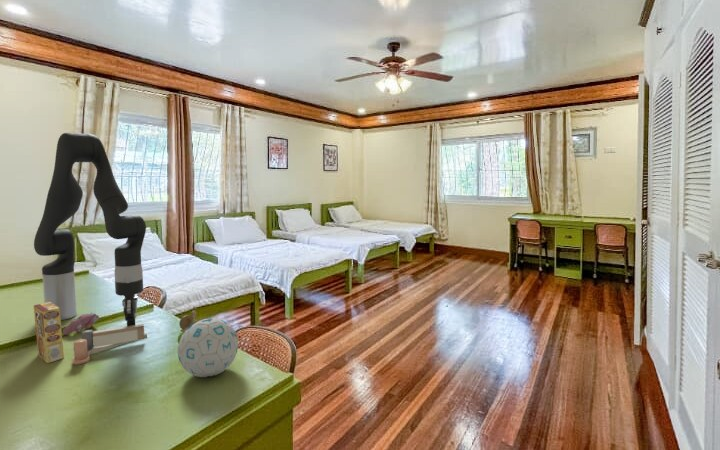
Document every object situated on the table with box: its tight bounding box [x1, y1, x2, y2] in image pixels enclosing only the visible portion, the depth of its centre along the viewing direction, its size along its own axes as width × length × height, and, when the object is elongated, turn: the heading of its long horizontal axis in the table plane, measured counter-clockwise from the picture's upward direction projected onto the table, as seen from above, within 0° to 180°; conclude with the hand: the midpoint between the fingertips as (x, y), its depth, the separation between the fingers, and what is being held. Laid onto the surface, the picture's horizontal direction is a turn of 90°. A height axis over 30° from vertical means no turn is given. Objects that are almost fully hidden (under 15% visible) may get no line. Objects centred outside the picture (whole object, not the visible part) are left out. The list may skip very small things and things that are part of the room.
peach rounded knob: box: [72, 338, 91, 366], centre depth 105 cm, size 4×4×6 cm
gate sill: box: [87, 332, 148, 356], centre depth 117 cm, size 4×18×1 cm, turn 146°
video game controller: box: [62, 312, 100, 336], centre depth 127 cm, size 10×5×7 cm, turn 169°
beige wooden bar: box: [81, 323, 145, 350], centre depth 114 cm, size 16×3×5 cm, turn 121°
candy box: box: [33, 302, 65, 364], centre depth 107 cm, size 9×4×15 cm, turn 54°
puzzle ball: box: [177, 317, 239, 378], centre depth 99 cm, size 15×15×15 cm
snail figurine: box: [177, 306, 197, 345], centre depth 116 cm, size 5×6×12 cm
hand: (131, 330), depth 119 cm, fingers closed
